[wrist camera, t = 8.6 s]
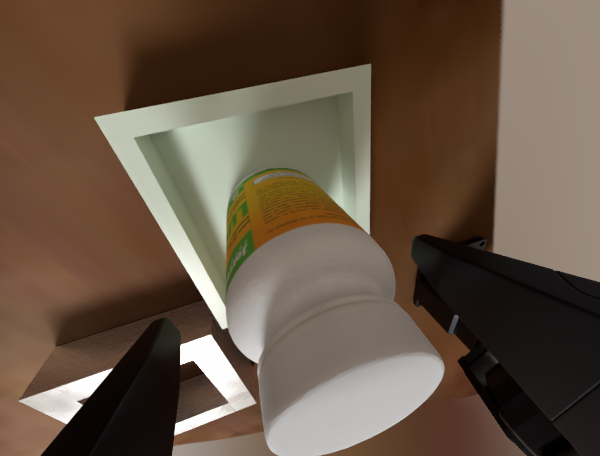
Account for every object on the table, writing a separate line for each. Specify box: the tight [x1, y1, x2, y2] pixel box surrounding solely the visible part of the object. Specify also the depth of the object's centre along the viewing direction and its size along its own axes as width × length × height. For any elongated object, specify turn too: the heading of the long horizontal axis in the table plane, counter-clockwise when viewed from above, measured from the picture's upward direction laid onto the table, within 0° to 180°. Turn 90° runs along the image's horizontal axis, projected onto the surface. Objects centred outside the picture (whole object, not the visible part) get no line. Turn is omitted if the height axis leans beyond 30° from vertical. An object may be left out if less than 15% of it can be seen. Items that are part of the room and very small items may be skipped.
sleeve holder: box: [18, 300, 256, 436], centre depth 16 cm, size 10×10×3 cm
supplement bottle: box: [225, 166, 444, 456], centre depth 9 cm, size 5×5×10 cm
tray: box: [94, 64, 371, 329], centre depth 12 cm, size 10×12×2 cm
